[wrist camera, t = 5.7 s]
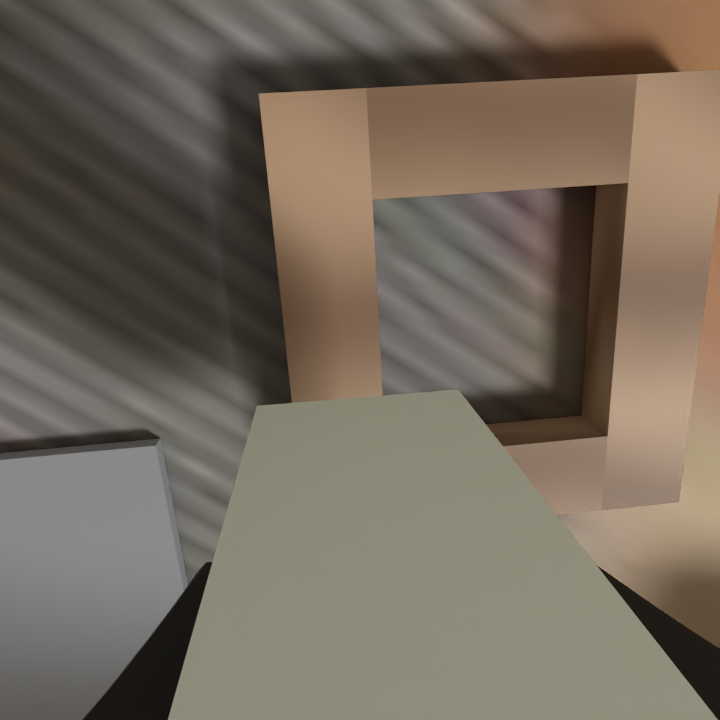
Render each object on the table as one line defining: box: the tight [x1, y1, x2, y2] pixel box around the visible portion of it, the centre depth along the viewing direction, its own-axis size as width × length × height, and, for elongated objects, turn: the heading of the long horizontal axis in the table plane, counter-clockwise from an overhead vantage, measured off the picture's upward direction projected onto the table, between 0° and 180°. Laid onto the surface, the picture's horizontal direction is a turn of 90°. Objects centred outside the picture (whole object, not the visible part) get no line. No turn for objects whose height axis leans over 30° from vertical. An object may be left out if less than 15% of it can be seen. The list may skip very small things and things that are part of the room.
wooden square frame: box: [259, 70, 720, 515], centre depth 15 cm, size 12×12×2 cm
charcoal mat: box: [0, 439, 188, 720], centre depth 17 cm, size 12×12×1 cm
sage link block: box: [168, 389, 718, 720], centre depth 7 cm, size 4×4×8 cm
